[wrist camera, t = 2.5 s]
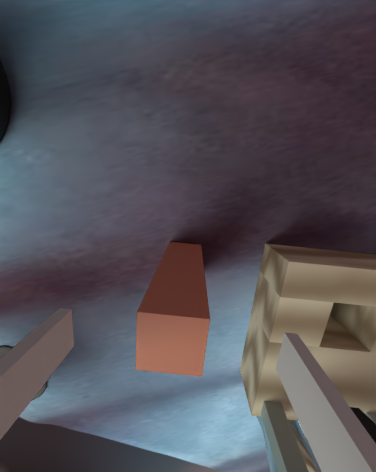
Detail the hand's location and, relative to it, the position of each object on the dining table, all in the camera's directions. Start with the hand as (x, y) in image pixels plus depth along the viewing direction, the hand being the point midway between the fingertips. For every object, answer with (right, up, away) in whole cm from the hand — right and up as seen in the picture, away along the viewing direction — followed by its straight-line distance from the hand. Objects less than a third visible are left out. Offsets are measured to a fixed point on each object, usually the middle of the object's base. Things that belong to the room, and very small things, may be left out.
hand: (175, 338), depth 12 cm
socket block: (+18, -5, +14) cm, 23 cm away
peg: (0, +4, +13) cm, 13 cm away
